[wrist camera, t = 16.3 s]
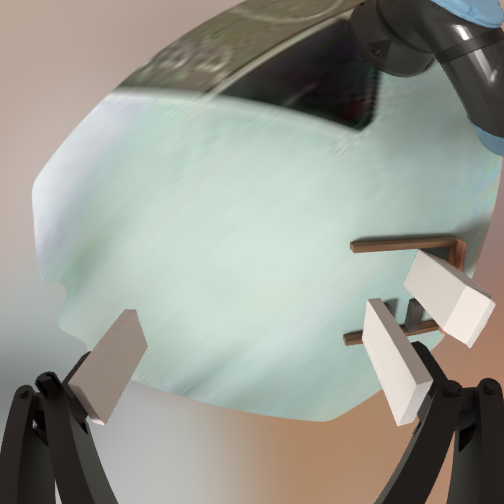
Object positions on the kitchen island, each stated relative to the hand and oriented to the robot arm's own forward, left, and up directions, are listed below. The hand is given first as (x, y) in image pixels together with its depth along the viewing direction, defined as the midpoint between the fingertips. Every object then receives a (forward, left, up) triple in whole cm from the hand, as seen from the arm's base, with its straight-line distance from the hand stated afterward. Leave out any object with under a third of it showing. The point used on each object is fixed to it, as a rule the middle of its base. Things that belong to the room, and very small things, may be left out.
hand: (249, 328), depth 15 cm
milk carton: (+11, +29, -29) cm, 43 cm away
